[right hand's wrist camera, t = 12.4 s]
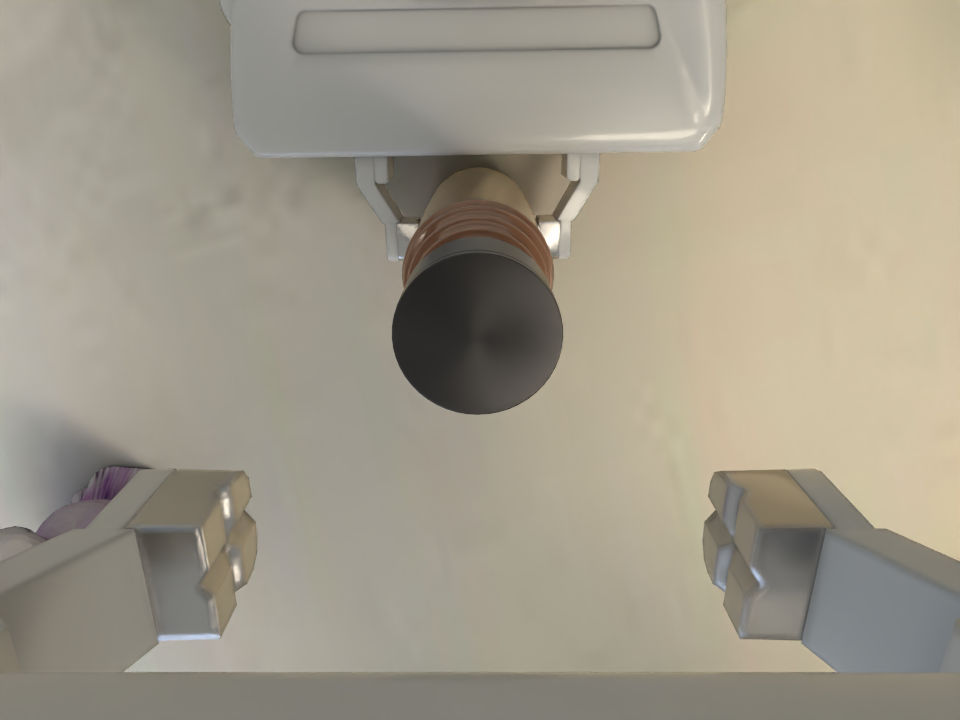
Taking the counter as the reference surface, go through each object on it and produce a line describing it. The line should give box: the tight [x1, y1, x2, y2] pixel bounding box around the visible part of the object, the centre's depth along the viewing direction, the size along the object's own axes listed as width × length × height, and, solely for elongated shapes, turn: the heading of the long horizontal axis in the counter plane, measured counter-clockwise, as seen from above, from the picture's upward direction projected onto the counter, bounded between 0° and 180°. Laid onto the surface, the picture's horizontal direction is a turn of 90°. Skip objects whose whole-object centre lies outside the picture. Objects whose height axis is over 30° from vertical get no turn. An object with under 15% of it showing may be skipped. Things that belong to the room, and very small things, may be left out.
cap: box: [392, 237, 563, 415], centre depth 19 cm, size 4×4×2 cm
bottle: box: [402, 167, 554, 289], centre depth 27 cm, size 5×5×19 cm
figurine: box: [0, 466, 146, 561], centre depth 35 cm, size 9×10×15 cm
